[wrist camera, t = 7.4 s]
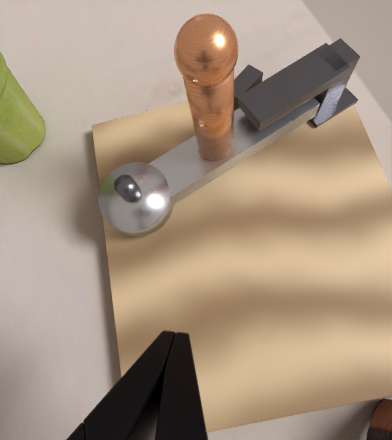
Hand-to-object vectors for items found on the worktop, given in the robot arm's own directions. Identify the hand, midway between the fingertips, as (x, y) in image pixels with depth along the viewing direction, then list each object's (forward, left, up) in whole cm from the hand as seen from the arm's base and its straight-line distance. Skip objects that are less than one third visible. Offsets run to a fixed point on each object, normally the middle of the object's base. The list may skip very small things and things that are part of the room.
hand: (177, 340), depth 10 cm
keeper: (+16, -10, -12) cm, 23 cm away
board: (+6, -4, -13) cm, 16 cm away
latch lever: (+12, -3, -11) cm, 17 cm away
